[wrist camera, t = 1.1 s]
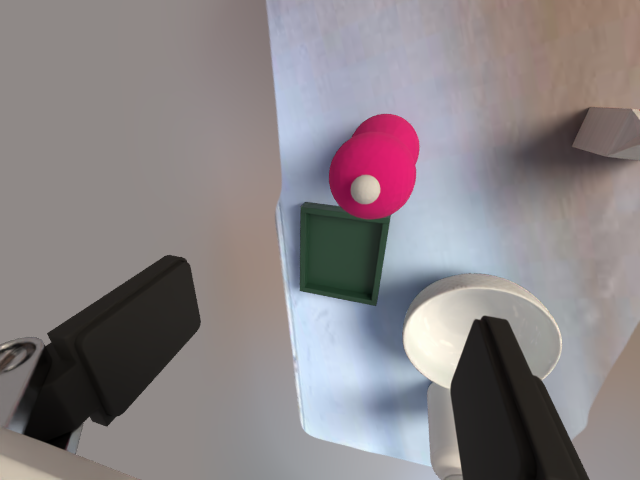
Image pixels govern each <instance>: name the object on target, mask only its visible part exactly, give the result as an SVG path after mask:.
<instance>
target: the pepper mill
mask: <svg viewBox="0 0 640 480" xmlns="http://www.w3.org/2000/svg"><path fill="white" fill-rule="evenodd" d="M418 155H419V140H418V137H417V134H416V132H415V130H414V128H413V127H412V126H411V124H410V123H408V122H407V121H406V120H405V119H403V118H401V117H399V116H396V115H392V114H380V115H376V116H373V117H371V118H369V119H367V120H366V121H364V122H363V123H362V124H361V125H360V126H359V127H358V128H357V129H356V131H355V132H354V134H353V136H352V138H350V139H349V140H348V141H346V142H345V143H344V144H343V145H342V146H341V147H340V148H339V149H338V151H337V152H336V154H335V156H334V158H333V160H332V162H331V166H330V170H329V184H330V189H331V192H332V195H333V197H334V199H335V200H336V202H337V203H338V204H339V206H340V207H342V208H343V209H344V210H345V211H346V212H348V213H349V214H351V215H353V216H355V217H358V218H363V219H379V218H383V217H387V216H389V215H391V214H393V213H394V212H396V211H398V210H399V209H400V208H401V207H402V206H403V205H404V204H405V203H406V201H407V200H408V199H409V197H410V195H411V193H412V191H413V188H414V185H415V180H416V167H415V164H416V162H417V159H418Z"/></svg>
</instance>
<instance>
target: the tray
mask: <svg viewBox="0 0 640 480" xmlns="http://www.w3.org/2000/svg"><path fill="white" fill-rule="evenodd" d="M390 216H391V215H389V216H387V217H383V218H379V219H363V218H358V217H355V216H353V215H351V214H349V213H348V212H346V211H345V210H344V209H343V208H342V207H340V206H332V205H325V204H317V203H309V202H305V203H304V204H303V205H302V206H301V225H300V291H303V292H308V293H313V294H318V295H323V296H328V297H333V298H338V299H343V300H348V301H353V302H359V303H364V304H369V305H374V306H376V304H377V298H378V292H379V286H380V279H381V273H382V267H383V260H384V254H385V248H386V241H387V235H388V229H389V222H390Z"/></svg>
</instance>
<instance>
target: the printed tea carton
mask: <svg viewBox="0 0 640 480" xmlns="http://www.w3.org/2000/svg"><path fill="white" fill-rule="evenodd" d="M572 147H574V148H578V149H581V150H585V151H588V152H592V153H595V154H599V155H602V156H606V157H613V158H622V159H630V160H639V161H640V110H638V109H622V108H598V107H590V108H589V110H588V113H587V115H586V117H585V119H584V121H583V123H582V125H581V128H580V130H579V132H578V134H577V136H576V138H575V141H574V143H573V145H572Z"/></svg>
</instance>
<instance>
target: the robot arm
mask: <svg viewBox="0 0 640 480" xmlns="http://www.w3.org/2000/svg"><path fill="white" fill-rule="evenodd" d="M200 323H201V321H200V315H199V309H198V304H197V299H196V294H195V288H194V284H193V278H192V273H191V268H190V265H189V263H187V260H186V259H185V258H182V257H177V256H172V255H167V256H164V257H163V258H161V259H160V260H159V261H157V262H155V263H154V264H152V265H151V266H149V267H148V268H146V269H145V270H143V271H142V272H140V273H139V274H137V275H136V276H134V277H132V278H131V279H130V280H128V281H126V282H125V283H123V284H122V285H120V286H119V287H117V288H116V289H114V290H113V291H111V292H110V293H108V294H107V295H105V296H103V297H102V298H101V299H99V300H97V301H96V302H94V303H93V304H91V305H90V306H88V307H87V308H85V309H84V310H82V311H81V312H79V313H78V314H76V315H75V316H73V317H71V318H70V319H68V320H67V321H65V322H64V323H62V324H61V325H59V326H58V327H56V328H55V329H53V330H52V331H50V332H49V333H47V334H48V336H49V338H50V340H51V343H50V344H48V345H47V346H45V345H44V343H43V341H42V340H41V339H39V338H36V337H25V338H18V339H15V340H11V341H8V342H5V343H3V344H0V480H140V479H137V478H134V477H132V476H130V475H127V474H124V473H122V472H119V471H116V470H114V469H112V468H109V467H106V466H104V465H101V464H99V463H96V462H94V461H91V460H88V459H86V458H83V457H81V456H78V455H76V451H77V448H78V444H79V440H80V436H81V431H82V427H83V422H84V421H85V420H86V419H87V418H88V417H89V416H90V418H91V420H92V421H93V422H96V423H98V424H101V425H104V426H108V425H109V424H110V423H111V422H112V421H113V420H114V418H115V417H117V416H120V415H121V414H123V413H124V412H125V411H126V410H127V409H128V407H129V406H130V405H131V404H132V403H133V402H134V401H135V400H136V398H137V397H138V396H139V395H140V394H141V393H142V392H143V391H144V390H145V389H146V387H147V386H148V385H149V384H150V383H151V382H152V381H153V379H154V378H155V377H156V376H157V375H158V374H159V373H160V372H161V371H162V370H163V368H164V367H165V366H166V365H167V364H168V363H169V362H170V361H171V360H172V358H173V357H174V356H175V355H176V354H177V353H178V352H179V350H181V348H182V347H183V346H184V345H185V344H186V343H187V342H188V341H189V339H190V338H191V337H192V336H193V335H194V334H195V333H196V332H197V330H198V329H199V327H200ZM450 395H451V402H452V409H453V415H454V422H455V429H456V436H457V443H458V449H459V456H460V463H461V470H462V477H463V480H589V478H588V476H587V473H586V471H585V469H584V468H583V465H582V463H581V461H580V459H579V457H578V454H577V452H576V450H575V448H574V446H573V444H572V442H571V440H570V438H569V436H568V434H567V431H566V429H565V427H564V425H563V423H562V421H561V419H560V417H559V415H558V413H557V411H556V408H555V406H554V404H553V402H552V400H551V398H550V396H549V394H548V392H547V390H546V387H545V385H544V384H543V382H542V381H541V379H540V378H539V377H537V376H535V375H533V374H532V372H531V370H530V368H529V366H528V363H527V361H526V359H525V357H524V354H523V352H522V350H521V348H520V346H519V343H518V341H517V339H516V337H515V335H514V332H513V330H512V328H511V326H510V324H509V322H508V320H506V319H501V318H496V317H491V316H486V315H484V316H482V317H481V319H480V320H479V319H475V320H474V321H473V323H472V326H471V329H470V332H469V334H468V337H467V340H466V343H465V345H464V348H463V351H462V354H461V356H460V359H459V362H458V365H457V367H456V370H455V373H454V376H453V378H452V381H451V386H450Z"/></svg>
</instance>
